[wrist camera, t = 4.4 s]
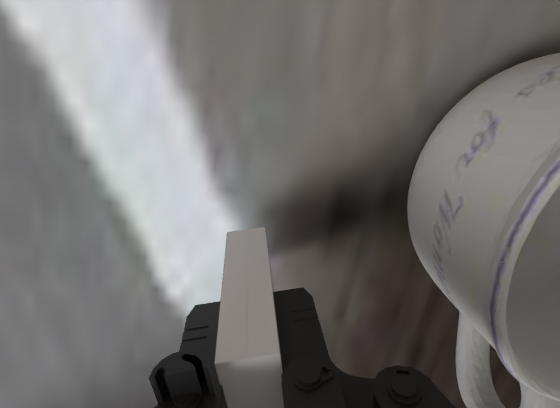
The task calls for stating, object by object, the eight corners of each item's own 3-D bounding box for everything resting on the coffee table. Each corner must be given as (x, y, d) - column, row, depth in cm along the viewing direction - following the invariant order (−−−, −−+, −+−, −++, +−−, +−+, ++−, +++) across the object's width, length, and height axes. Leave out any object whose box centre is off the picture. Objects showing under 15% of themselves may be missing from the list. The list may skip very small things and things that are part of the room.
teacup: (482, -10, 14) (765, -86, 6) (660, 120, 16) (1004, 174, 9) (305, 277, 18) (350, 435, 10) (471, 343, 20) (599, 504, 13)
